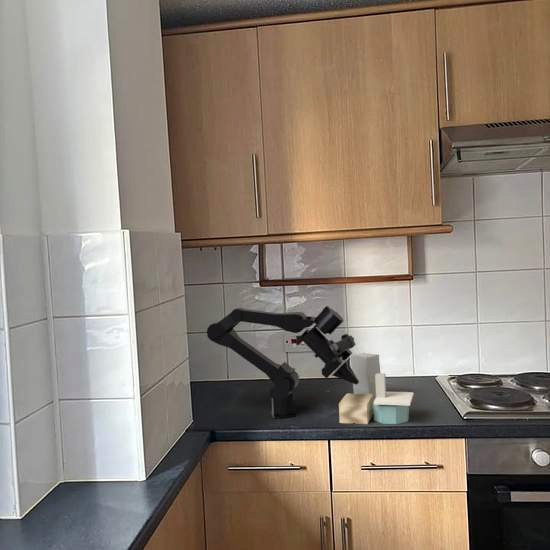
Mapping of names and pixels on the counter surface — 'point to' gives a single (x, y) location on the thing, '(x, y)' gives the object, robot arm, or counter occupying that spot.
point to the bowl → (391, 413)
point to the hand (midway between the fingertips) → (357, 383)
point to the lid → (390, 393)
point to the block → (356, 408)
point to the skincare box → (365, 372)
